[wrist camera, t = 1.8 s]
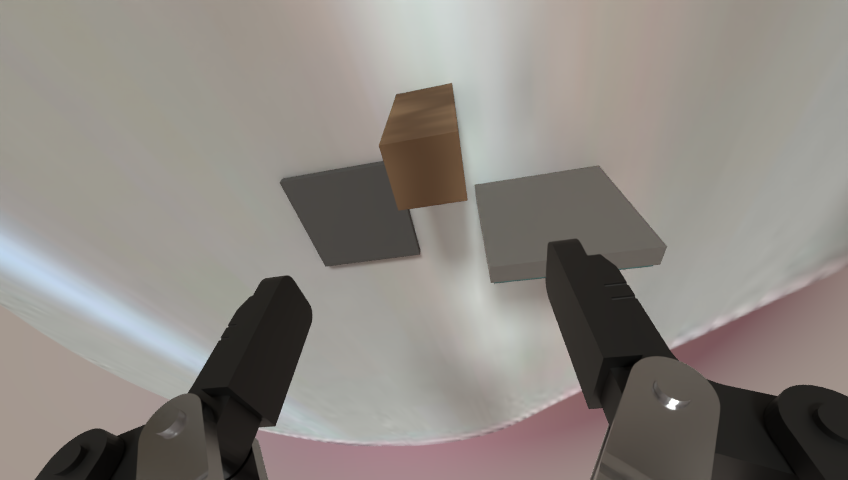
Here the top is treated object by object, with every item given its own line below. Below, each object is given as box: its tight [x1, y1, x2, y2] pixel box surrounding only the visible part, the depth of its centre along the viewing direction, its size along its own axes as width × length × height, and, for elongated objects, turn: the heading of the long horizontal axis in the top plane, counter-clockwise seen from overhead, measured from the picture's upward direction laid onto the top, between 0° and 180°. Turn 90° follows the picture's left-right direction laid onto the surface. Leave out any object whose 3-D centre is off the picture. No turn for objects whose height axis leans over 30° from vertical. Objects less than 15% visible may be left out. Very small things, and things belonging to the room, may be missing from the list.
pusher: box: [379, 83, 467, 211], centre depth 18 cm, size 4×4×8 cm
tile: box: [475, 166, 667, 283], centre depth 21 cm, size 9×2×9 cm, turn 101°
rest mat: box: [280, 161, 420, 266], centre depth 27 cm, size 9×9×1 cm
